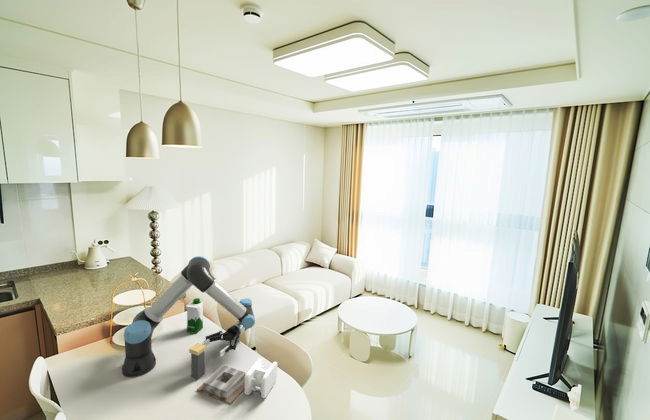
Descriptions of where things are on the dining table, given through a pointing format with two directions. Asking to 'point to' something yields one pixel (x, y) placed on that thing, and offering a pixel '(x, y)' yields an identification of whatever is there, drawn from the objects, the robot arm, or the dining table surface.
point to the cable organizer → (260, 378)
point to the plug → (197, 360)
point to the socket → (224, 384)
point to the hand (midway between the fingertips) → (210, 350)
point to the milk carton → (194, 316)
